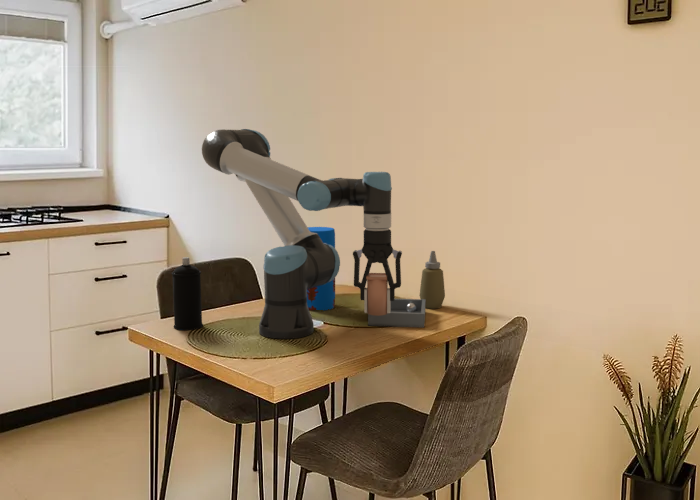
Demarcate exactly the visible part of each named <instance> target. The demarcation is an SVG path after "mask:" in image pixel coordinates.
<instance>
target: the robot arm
mask: <svg viewBox="0 0 700 500" xmlns="http://www.w3.org/2000/svg"><path fill="white" fill-rule="evenodd" d="M201 154H202V158H203V160H204V162H205V163H206V164H207V165H208V166H209V167H211V168H212V169H214V170H216V171H218V172H220V173H223V174H225V175H233V174H234V175H235V177H236V178H237V180H238V181H240V182H245V183H246V185H247V187H248V188H249V189H250V191H251V193H252V195H253V196H254V198H255V200H256V201H257V203H258V204H259V207H260V208H261V210H262V211H263V213H264V215H265V216H266V219H268V221H269V223H270V224H271V226H272V228H273V229H274V231H275V232H276V235H277V236H278V237H279V239H280V240H281V242H282V244H283V246H277V247H273V248H271V249H269V250H268V251H266V252H265V254H264V259H263V262H264V263H263V274H264V275H263V278H264V279H263V280H264V282H263V283H264V307H263V310H262V313H261V317H260V321H259V325H258V331H259V332H258V333H259V334H260V335H261V336H263V337H265V338H270V339H279V340H281V339H285V340H286V339H288V340H290V339H299V338H303V337H307V336H310V335H312V334H313V333H314V331H315V329H314V321H313V318H312V315H311V312H310V310H309V309H308V306H307V289H310V288H313V287H316V286H321V285H325V284H326V283H328V282H330V281H332V280H333V279H334V278H335V279H336V277H337V275H338V274H339V272H340V266H341V257H340V255H339V252H338V251H337V249H336V247H335V248H334V247H333V246H331V245H329V244H326V243H323V242H322V240H321V238H320V237H319V235H318V234H317V233H313V232H310V231H309V229H308V226H307V224H306V222H305V221H304V220H303V217H302V216H301V215H300V213H299V211H298V209H297V208H296V206H295V205H294V204H293V202H292V200H294V201H297V202H298V203H299V205H300V206H301V208H302V209H304V210H307V211H314V212H319V211H322V210H326V209H327V210H328V209H334V208H340V207H348V206H349V207H353V206H354V207H363V227H364V230H363V245H362V248H361V249H357V250H356V249H355V250H354V251H352V257H353V259H354V266H353V269H354V270H353V287H355V288H358V289H359V292H360V294H359V295H360V301H364V302H363V303H364V309H363V311H364V314H368V313H367V280H366V276H367V275H369V273H371V271H370V270H371V267H372V264H377V263H379V264H382V266H383V270H384V273H385V274H386V276H387V280H388V289H387V313H390V311H391V301H394V299H396V298H395V294H396V293H395V289H397V288H401V285H402V270H401V258H402V255H403V251H402V250H397V249H395V248H393V246H392V230H391V228H392V189H393V188H392V179H391V174H390V173H389V172H386V171H366V172H364V173H363V177H362V178H348V177H347V178H345V177H333V178H328V179H327V180H326V179H325V180H321V179H319V178H317V177H314V176H311V175H309V174H307V173H305V172H303V171H301V170H298V169H295V168H293V167H290V166H287V165H285V164H283V163H280V162H278V161H276V160H272V158H271V145H270V142H269V141H268V139H267V138H266V136H265V135H264V134H262V133H261V132H260V131H257V130H254V129H248V128H242V129H217V130H214V131H212V132H210V133H209V134H207V136H206V137H205V138H204V140H203V141H202V145H201ZM291 199H292V200H291ZM362 254H363V255H364V256H365V258H366V259H367V262H366V265H365V270H364V272H363V276H362V279H361V281H360V269H361V268H360V267H361V266H360V265H361V264H360V263H361V257H362ZM391 255H393V258H394V259H395V263H394V264H395V282H394V279H393V275H392V272H391V269H390V264H389V261H388V259H389V258H390V256H391Z"/></svg>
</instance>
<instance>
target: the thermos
mask: <svg viewBox="0 0 700 500" xmlns="http://www.w3.org/2000/svg"><path fill="white" fill-rule="evenodd" d="M307 227H308V226H307ZM308 229H309V231H310V232H313V233H317V234H318V235H319V237H320V238H321V240H322V242H323V243H326V244H329V245H331V246H333V247H334V248H335V249H336V231H335V228H333V227H329V226H328V227H327V226H309V227H308ZM335 304H336V277H335V278H334V279H333V280H332V281H330V282H328V283H326V284H325V285H321V286H316V287H313V288H310V289H307V306H308V309H309V311H313V310H323V311H329V310H332V309H334V308H335V306H336V305H335ZM328 309H329V310H328Z"/></svg>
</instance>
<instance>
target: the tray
mask: <svg viewBox="0 0 700 500" xmlns="http://www.w3.org/2000/svg"><path fill="white" fill-rule="evenodd" d="M425 301H426V299H420V298H394V301H391V311H390V313H387V314H386V315H381V316H375V315H369V314H368V313H367V326H368V327H394V328H395V327H397V328H402V327H403V328H425V320H426V308H425ZM409 303H413V304H415V305H416V310H415V312H413V313H409V312H408V311H407V309H406V307H407V305H408V304H409Z"/></svg>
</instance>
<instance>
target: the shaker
mask: <svg viewBox="0 0 700 500" xmlns="http://www.w3.org/2000/svg"><path fill="white" fill-rule="evenodd" d="M366 280H367V282H366V288H367V313H366V314H367V315H368V314H369V315H375V316H381V315H386V314H387V289H388V288H389V284H388V280H387V276H386V274H385V272H369V275H367V276H366Z"/></svg>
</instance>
